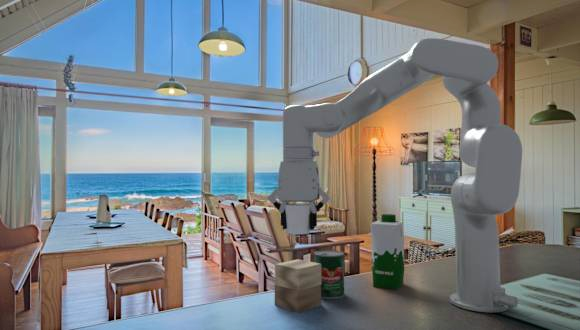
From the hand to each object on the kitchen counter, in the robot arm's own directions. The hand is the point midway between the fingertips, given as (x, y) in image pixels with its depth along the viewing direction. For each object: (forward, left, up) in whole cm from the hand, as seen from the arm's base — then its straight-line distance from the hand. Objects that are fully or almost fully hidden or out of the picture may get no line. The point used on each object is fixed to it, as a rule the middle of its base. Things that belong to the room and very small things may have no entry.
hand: (298, 228), depth 92 cm
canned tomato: (+2, -11, -19) cm, 22 cm away
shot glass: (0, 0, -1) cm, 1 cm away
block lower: (0, 0, -19) cm, 19 cm away
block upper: (0, 0, -14) cm, 14 cm away
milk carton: (0, -31, -19) cm, 36 cm away
